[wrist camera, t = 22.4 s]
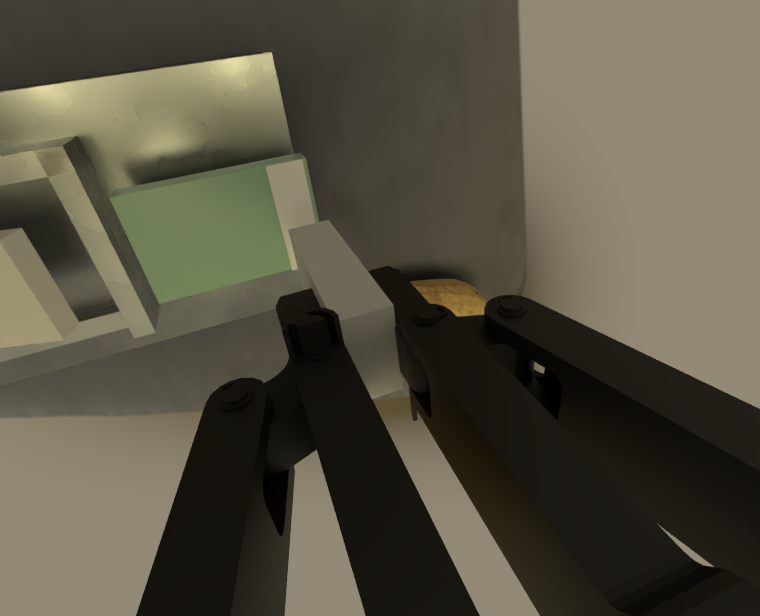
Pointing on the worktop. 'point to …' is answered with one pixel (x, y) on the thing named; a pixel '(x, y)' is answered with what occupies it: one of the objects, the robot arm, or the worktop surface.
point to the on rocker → (217, 224)
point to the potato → (452, 295)
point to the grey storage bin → (121, 170)
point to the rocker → (29, 296)
